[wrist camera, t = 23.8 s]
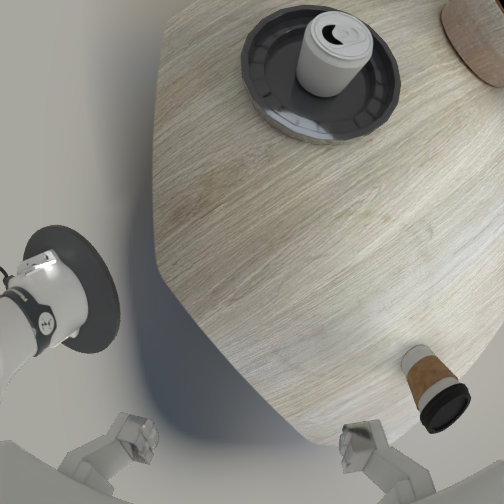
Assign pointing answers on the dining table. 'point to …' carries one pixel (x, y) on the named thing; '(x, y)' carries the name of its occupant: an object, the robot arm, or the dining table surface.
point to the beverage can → (332, 53)
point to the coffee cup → (434, 389)
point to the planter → (478, 36)
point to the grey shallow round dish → (303, 102)
